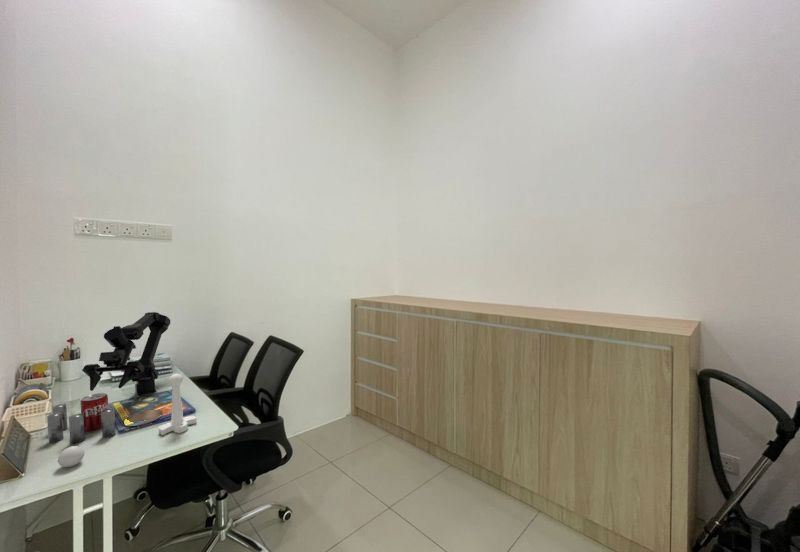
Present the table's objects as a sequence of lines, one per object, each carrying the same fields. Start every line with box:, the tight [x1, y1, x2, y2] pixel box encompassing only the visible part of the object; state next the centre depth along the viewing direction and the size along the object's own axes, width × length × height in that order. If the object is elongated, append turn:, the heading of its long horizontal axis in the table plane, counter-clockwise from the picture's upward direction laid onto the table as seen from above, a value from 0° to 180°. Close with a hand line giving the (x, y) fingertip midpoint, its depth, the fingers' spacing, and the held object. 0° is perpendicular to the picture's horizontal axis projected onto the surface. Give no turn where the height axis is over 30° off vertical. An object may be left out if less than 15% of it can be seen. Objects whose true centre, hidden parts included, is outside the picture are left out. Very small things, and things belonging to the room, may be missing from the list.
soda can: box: [80, 392, 109, 434], centre depth 118 cm, size 7×7×12 cm
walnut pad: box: [125, 409, 164, 422], centre depth 125 cm, size 12×12×1 cm
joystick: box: [158, 373, 198, 436], centre depth 117 cm, size 11×8×20 cm
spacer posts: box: [46, 403, 117, 446], centre depth 112 cm, size 9×25×9 cm, turn 79°
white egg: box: [51, 445, 85, 468], centre depth 96 cm, size 8×6×6 cm
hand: (105, 389), depth 124 cm, fingers open, 9 cm apart
